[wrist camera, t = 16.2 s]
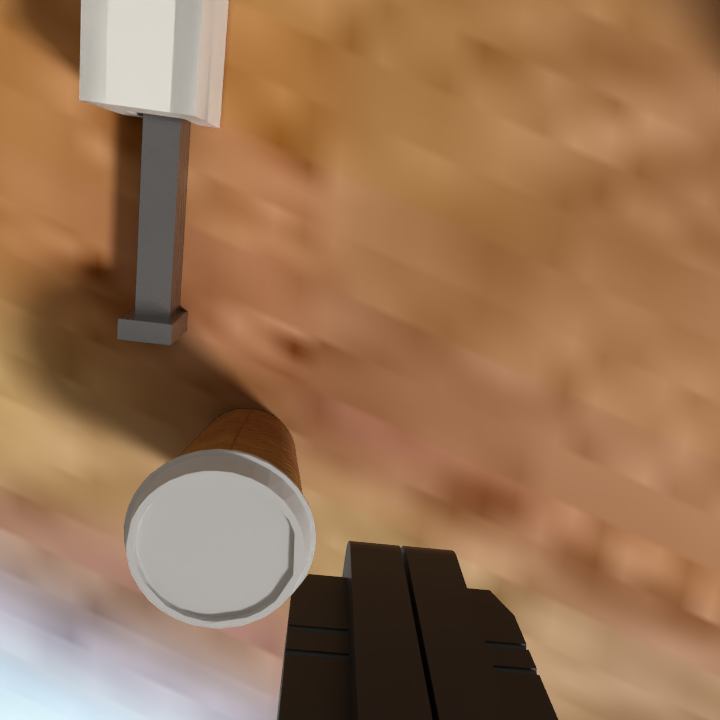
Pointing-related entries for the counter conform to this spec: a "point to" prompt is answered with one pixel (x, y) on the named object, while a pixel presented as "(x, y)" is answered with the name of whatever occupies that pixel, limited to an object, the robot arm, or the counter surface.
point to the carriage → (154, 57)
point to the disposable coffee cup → (223, 525)
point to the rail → (160, 233)
